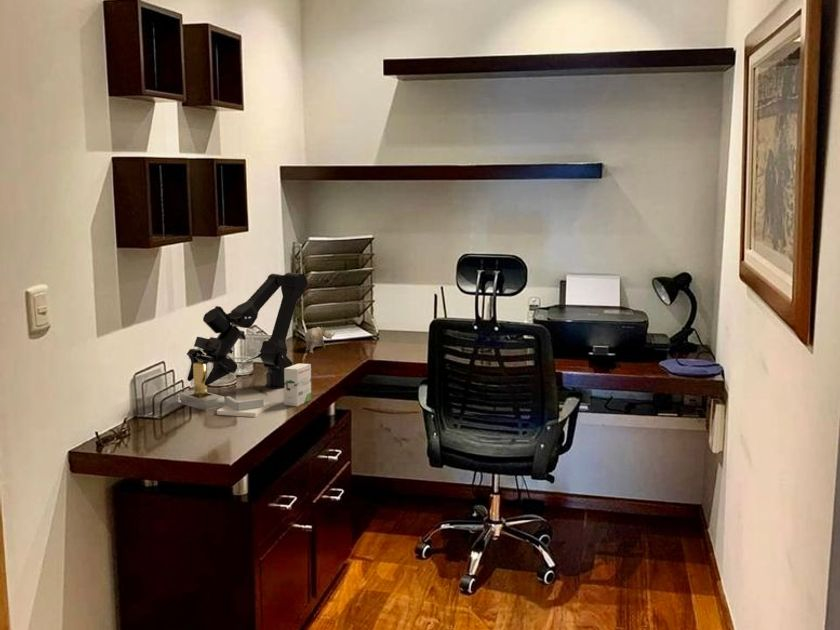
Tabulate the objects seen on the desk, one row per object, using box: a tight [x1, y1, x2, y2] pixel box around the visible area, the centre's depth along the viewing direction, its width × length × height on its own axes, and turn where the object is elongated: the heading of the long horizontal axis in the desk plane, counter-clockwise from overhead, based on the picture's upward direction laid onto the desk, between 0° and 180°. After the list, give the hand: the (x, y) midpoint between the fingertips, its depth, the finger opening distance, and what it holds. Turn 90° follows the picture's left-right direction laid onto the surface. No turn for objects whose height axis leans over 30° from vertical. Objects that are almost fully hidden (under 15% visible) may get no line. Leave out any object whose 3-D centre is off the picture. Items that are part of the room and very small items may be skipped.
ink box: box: [283, 363, 312, 407], centre depth 261 cm, size 9×5×12 cm, turn 156°
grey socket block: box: [179, 389, 225, 412], centre depth 258 cm, size 14×7×3 cm, turn 52°
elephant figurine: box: [304, 326, 336, 354], centre depth 345 cm, size 8×14×15 cm
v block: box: [216, 395, 270, 418], centre depth 252 cm, size 12×12×4 cm
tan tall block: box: [193, 362, 208, 398], centre depth 257 cm, size 4×4×13 cm
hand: (196, 382), depth 256 cm, fingers open, 8 cm apart
